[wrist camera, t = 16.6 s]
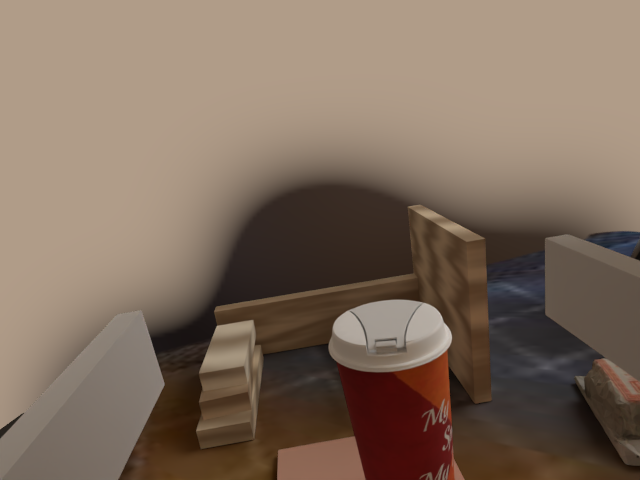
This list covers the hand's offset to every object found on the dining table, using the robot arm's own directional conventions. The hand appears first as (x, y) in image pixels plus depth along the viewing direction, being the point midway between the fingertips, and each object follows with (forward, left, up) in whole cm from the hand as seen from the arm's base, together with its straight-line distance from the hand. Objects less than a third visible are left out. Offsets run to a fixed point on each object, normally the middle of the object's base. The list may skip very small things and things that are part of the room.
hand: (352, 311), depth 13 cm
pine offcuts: (+29, -3, -21) cm, 36 cm away
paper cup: (+7, -8, -20) cm, 23 cm away
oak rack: (+24, -14, -21) cm, 35 cm away
